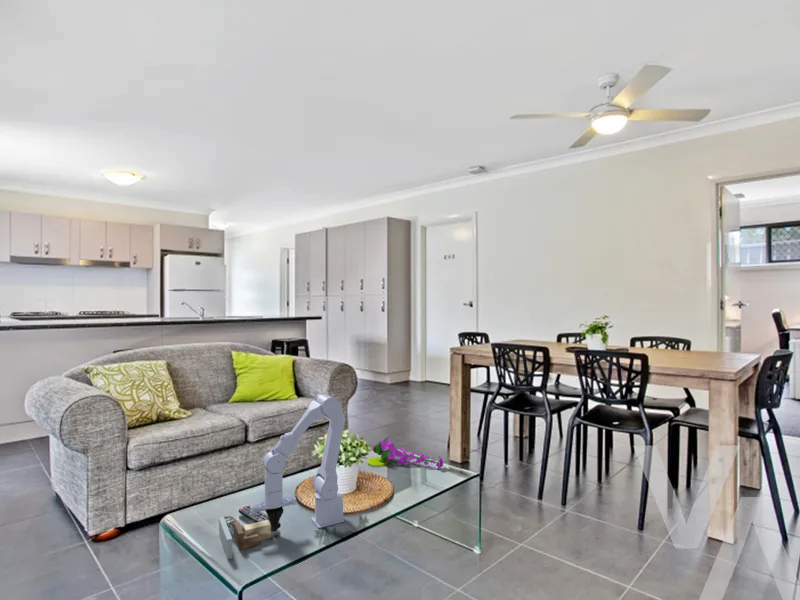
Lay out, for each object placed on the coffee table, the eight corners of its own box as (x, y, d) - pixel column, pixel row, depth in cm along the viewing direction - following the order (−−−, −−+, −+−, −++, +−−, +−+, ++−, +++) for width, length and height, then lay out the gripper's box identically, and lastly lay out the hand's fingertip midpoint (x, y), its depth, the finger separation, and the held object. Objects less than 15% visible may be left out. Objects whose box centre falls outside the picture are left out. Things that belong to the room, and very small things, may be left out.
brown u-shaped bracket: (252, 532, 157) (252, 517, 157) (258, 544, 149) (258, 529, 149) (233, 537, 154) (233, 521, 154) (238, 550, 146) (238, 534, 146)
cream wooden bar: (268, 533, 157) (268, 519, 157) (270, 537, 154) (270, 524, 154) (243, 539, 153) (243, 525, 153) (245, 544, 150) (245, 530, 150)
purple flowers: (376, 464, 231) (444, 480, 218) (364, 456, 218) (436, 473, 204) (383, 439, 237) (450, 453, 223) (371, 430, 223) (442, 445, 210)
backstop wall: (223, 534, 156) (223, 516, 156) (232, 558, 142) (232, 538, 142) (219, 535, 155) (218, 517, 155) (227, 559, 141) (227, 539, 141)
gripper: (291, 480, 163) (292, 519, 163) (248, 489, 156) (249, 530, 156) (297, 487, 157) (298, 528, 157) (253, 497, 150) (253, 539, 150)
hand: (274, 529), depth 156 cm, fingers closed
